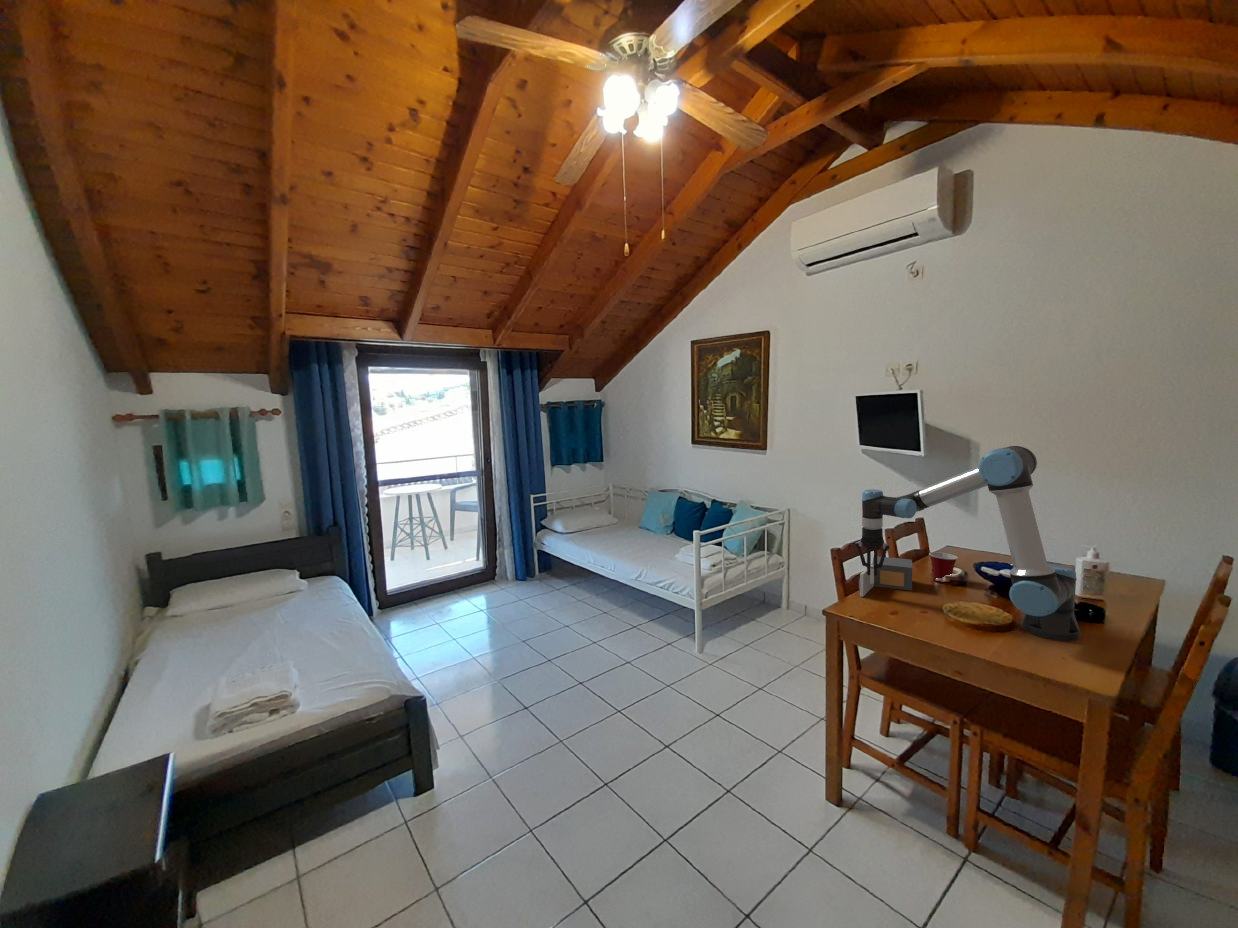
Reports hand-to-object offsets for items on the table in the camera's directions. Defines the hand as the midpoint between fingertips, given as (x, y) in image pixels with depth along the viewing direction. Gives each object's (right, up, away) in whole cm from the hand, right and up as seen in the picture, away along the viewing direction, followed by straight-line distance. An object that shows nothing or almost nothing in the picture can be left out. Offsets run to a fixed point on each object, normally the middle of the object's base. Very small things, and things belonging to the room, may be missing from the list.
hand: (872, 582), depth 206 cm
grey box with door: (+15, -3, +12) cm, 20 cm away
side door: (0, -5, +5) cm, 7 cm away
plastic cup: (+38, -3, +13) cm, 40 cm away
